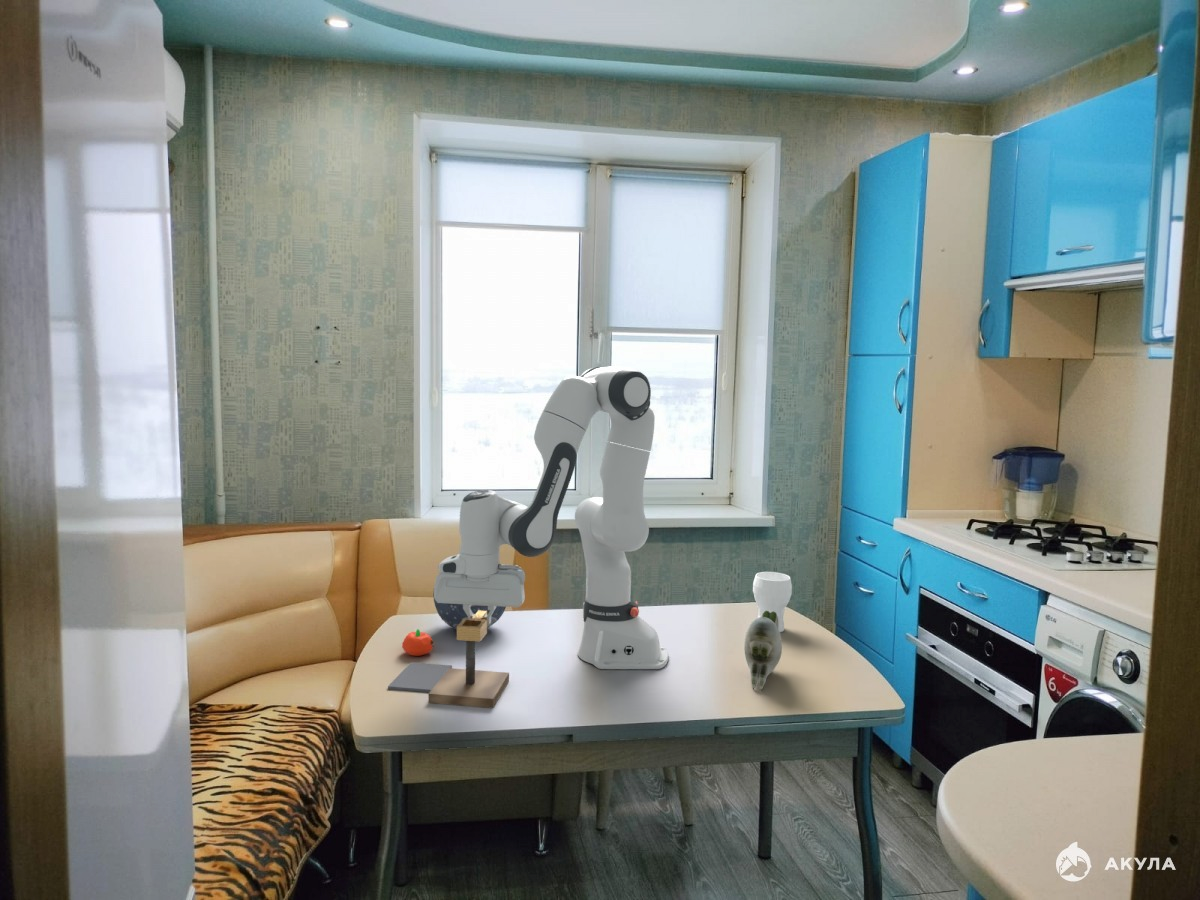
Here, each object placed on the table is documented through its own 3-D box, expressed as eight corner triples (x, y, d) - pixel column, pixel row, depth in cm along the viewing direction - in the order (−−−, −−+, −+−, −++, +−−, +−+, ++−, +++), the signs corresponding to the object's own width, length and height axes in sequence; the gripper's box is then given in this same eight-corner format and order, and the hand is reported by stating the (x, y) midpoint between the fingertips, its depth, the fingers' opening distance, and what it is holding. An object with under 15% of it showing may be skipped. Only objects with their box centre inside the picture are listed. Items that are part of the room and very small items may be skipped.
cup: (793, 635, 211) (796, 582, 209) (754, 634, 211) (757, 580, 209) (784, 622, 221) (787, 571, 219) (747, 621, 221) (750, 570, 220)
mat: (451, 667, 182) (451, 665, 181) (431, 692, 168) (431, 689, 168) (411, 664, 183) (411, 662, 183) (387, 688, 169) (387, 686, 169)
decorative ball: (516, 621, 216) (517, 551, 214) (496, 646, 196) (497, 569, 194) (448, 615, 219) (448, 546, 217) (421, 640, 199) (421, 564, 197)
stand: (508, 681, 175) (509, 621, 173) (493, 708, 161) (494, 643, 160) (449, 676, 176) (449, 617, 175) (428, 702, 163) (428, 638, 161)
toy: (776, 695, 172) (785, 660, 191) (779, 629, 170) (788, 601, 189) (738, 689, 175) (750, 655, 194) (740, 624, 173) (753, 597, 192)
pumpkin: (421, 646, 195) (421, 621, 194) (438, 655, 189) (439, 629, 189) (396, 652, 190) (396, 627, 189) (413, 662, 184) (413, 636, 184)
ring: (493, 623, 176) (493, 611, 175) (480, 641, 165) (480, 628, 164) (471, 622, 176) (471, 609, 176) (456, 640, 165) (456, 626, 165)
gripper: (528, 561, 174) (527, 621, 175) (440, 557, 176) (441, 616, 178) (522, 569, 167) (521, 630, 169) (431, 564, 170) (431, 625, 171)
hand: (479, 623), depth 173 cm, fingers closed on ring, 2 cm apart
